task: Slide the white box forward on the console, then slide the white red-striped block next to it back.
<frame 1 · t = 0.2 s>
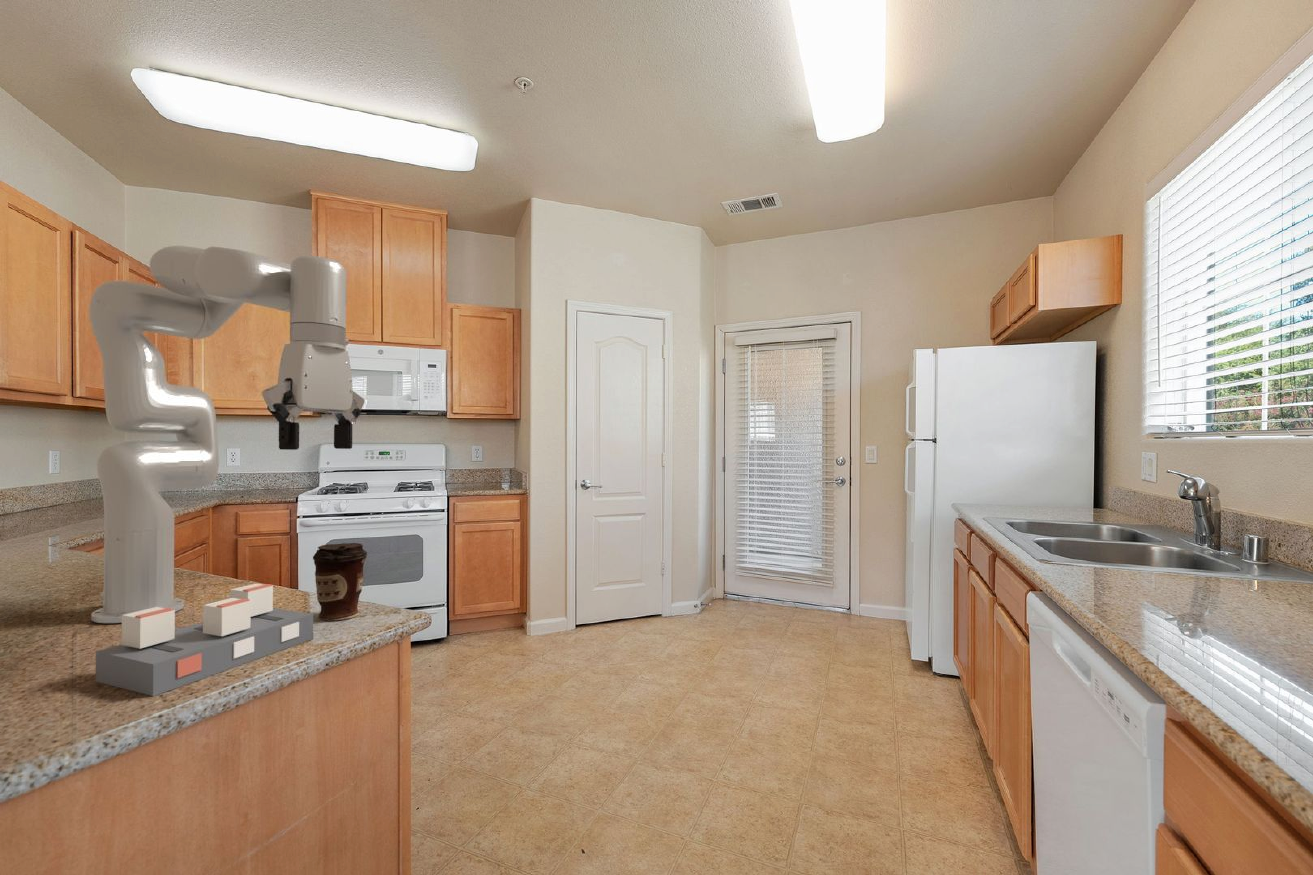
hand: (317, 449, 88), 31 cm above the worktop, tool pointing down, fingers open, 9 cm apart
coffee cup: (338, 617, 103), on the worktop
white red-striped block 2: (227, 615, 83), point 7 cm above the worktop, slide at 2.5 cm
white box 1: (148, 626, 78), point 7 cm above the worktop, slide at -2.5 cm
white red-striped block 3: (251, 599, 91), point 7 cm above the worktop, slide at -2.5 cm
console: (215, 657, 84), on the worktop
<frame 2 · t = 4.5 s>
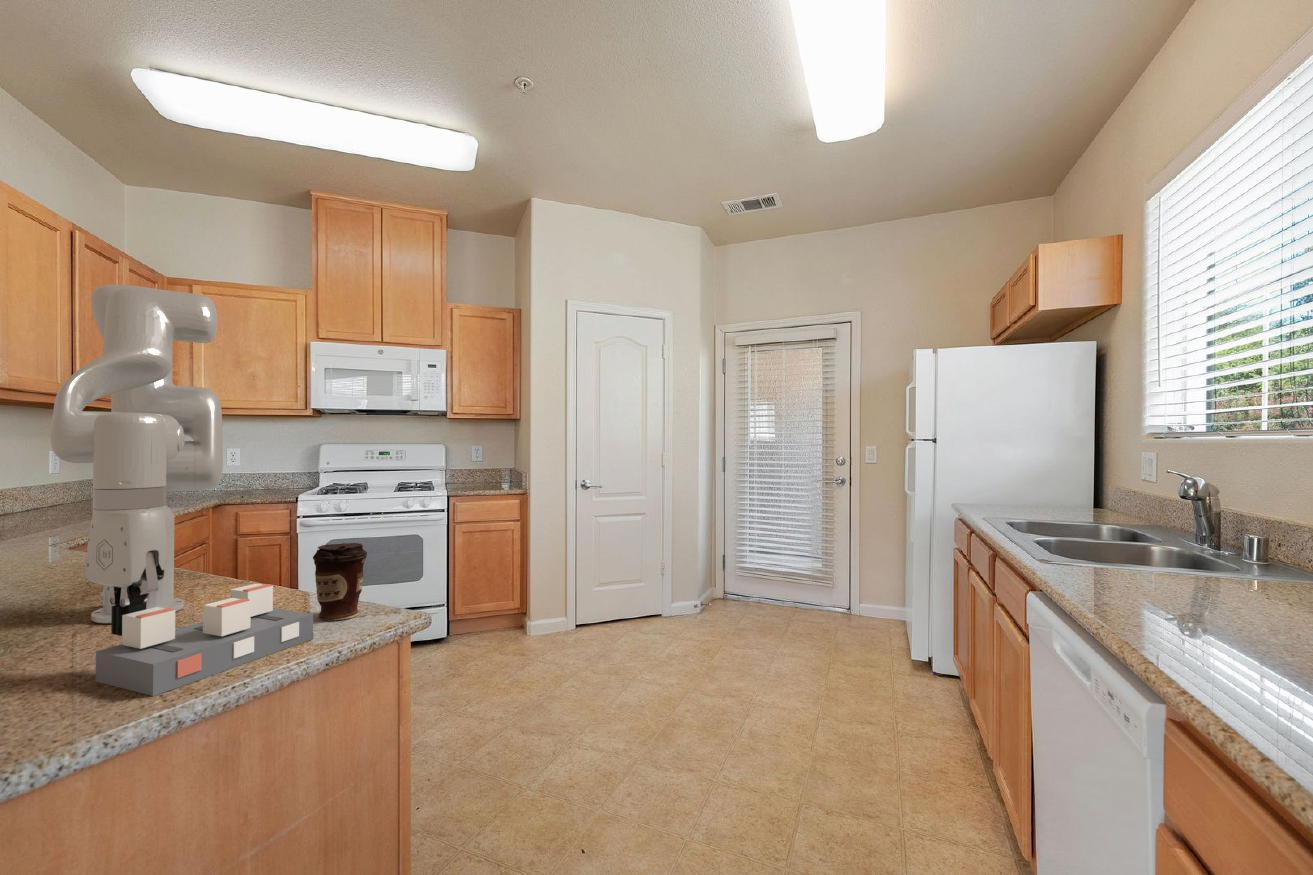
hand: (128, 631, 79), 5 cm above the worktop, tool pointing down, fingers closed
white box 1: (149, 626, 78), point 7 cm above the worktop, slide at -2.4 cm, touching gripper
everything else where it was.
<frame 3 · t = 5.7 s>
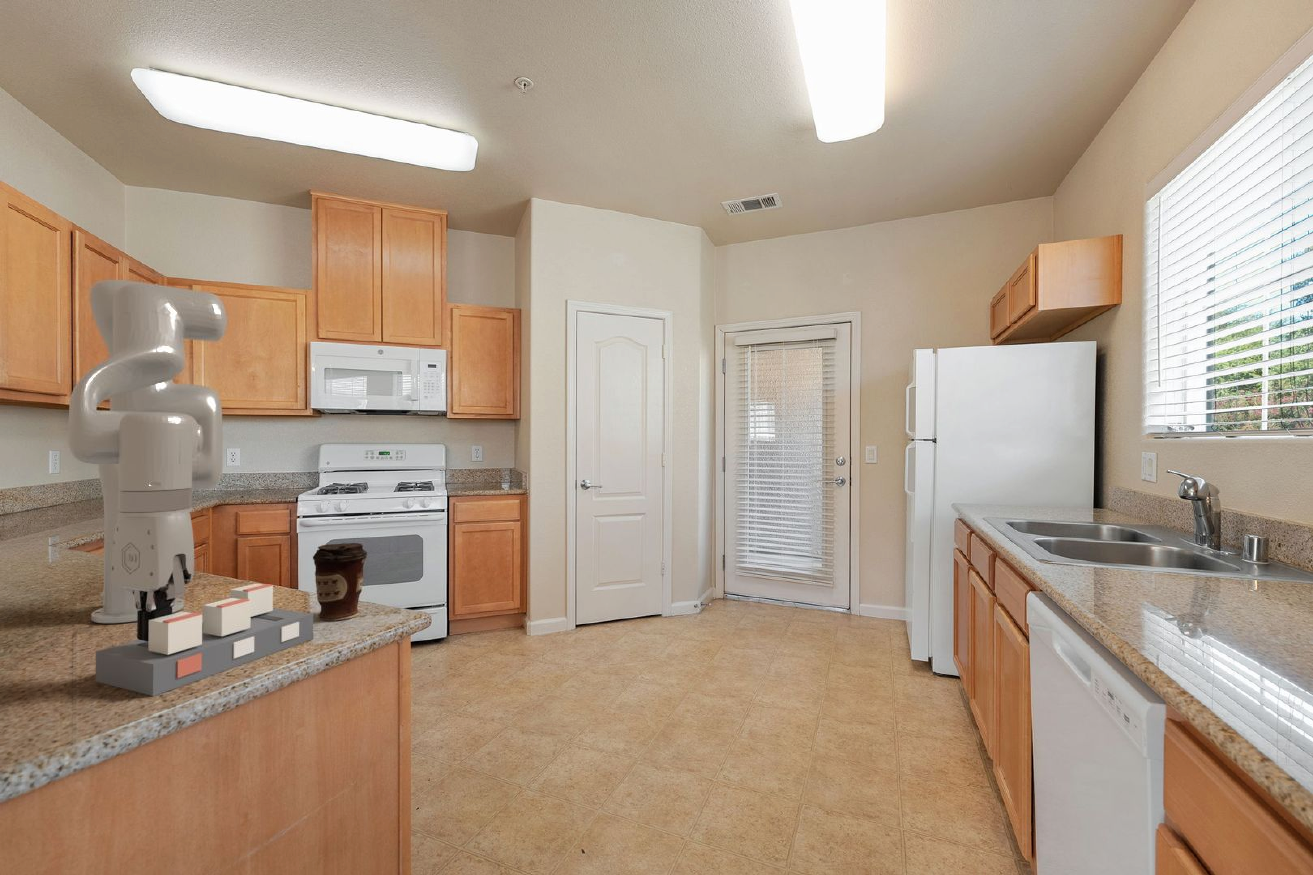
hand: (154, 637, 77), 5 cm above the worktop, tool pointing down, fingers closed
white box 1: (175, 631, 76), point 7 cm above the worktop, slide at 3.2 cm, touching gripper
everything else where it was.
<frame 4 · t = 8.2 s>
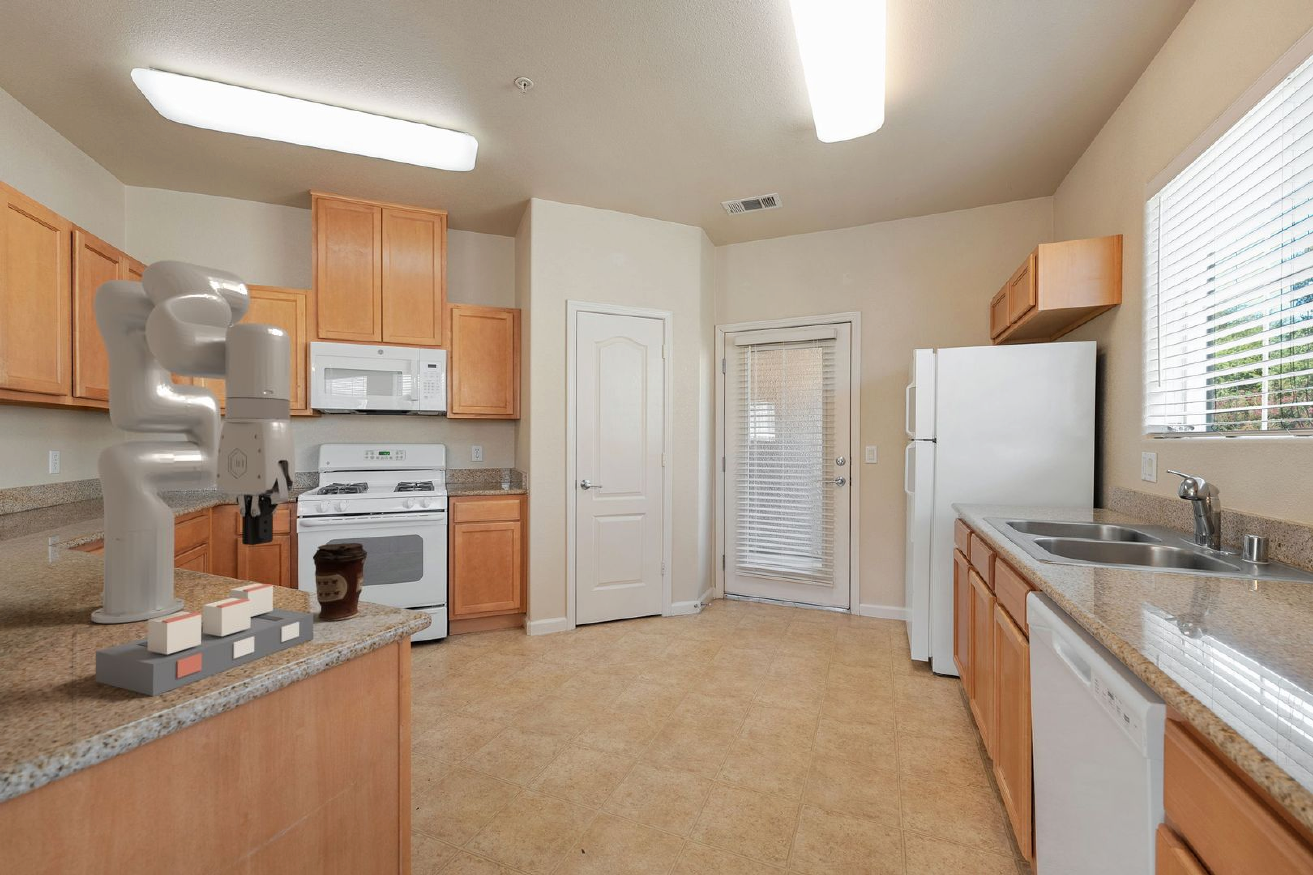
hand: (257, 542, 80), 18 cm above the worktop, tool pointing down, fingers closed
white box 1: (174, 631, 76), point 7 cm above the worktop, slide at 3.1 cm
everything else where it was.
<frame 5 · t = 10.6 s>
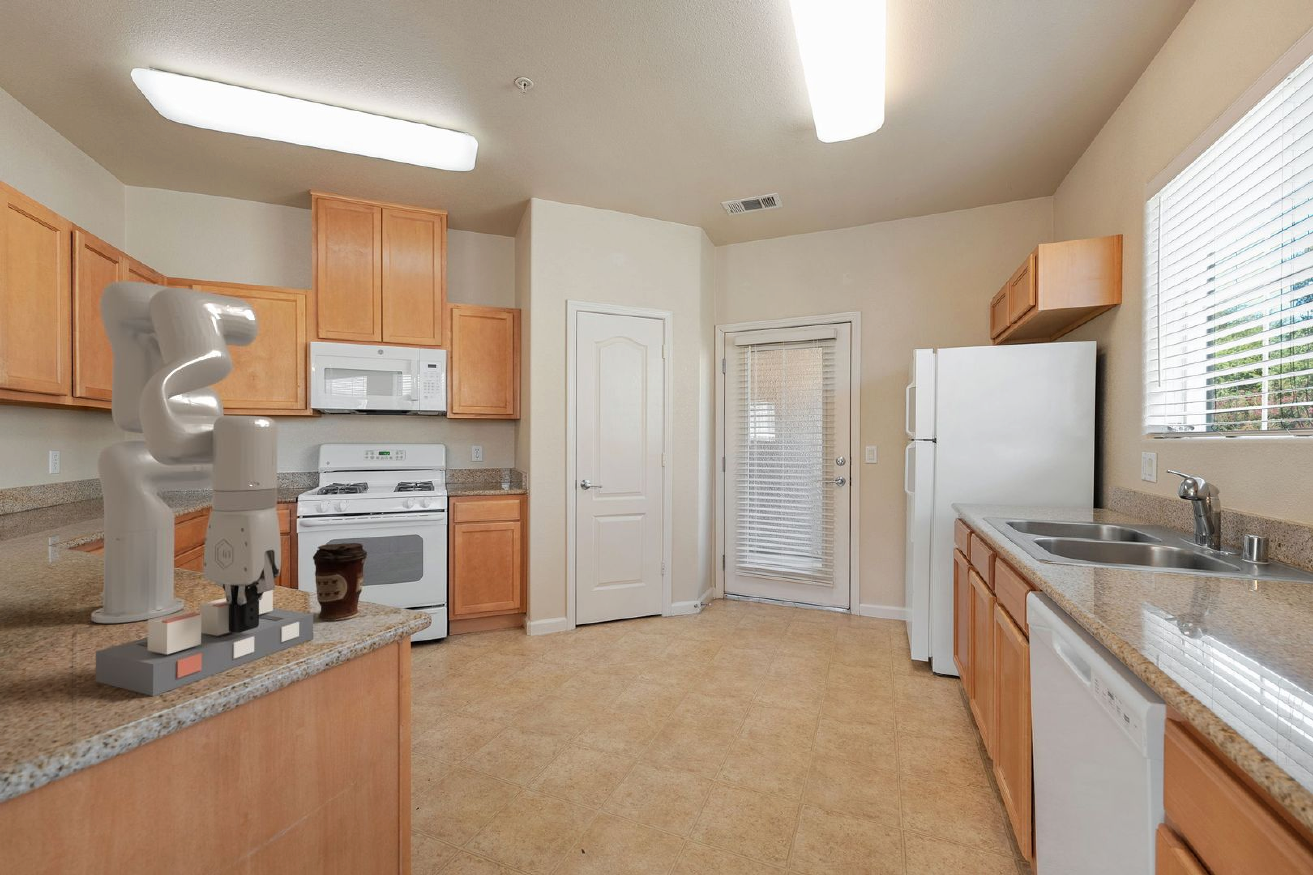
hand: (243, 629, 81), 5 cm above the worktop, tool pointing down, fingers closed
white red-striped block 2: (223, 615, 83), point 7 cm above the worktop, slide at 1.6 cm, touching gripper
everything else where it was.
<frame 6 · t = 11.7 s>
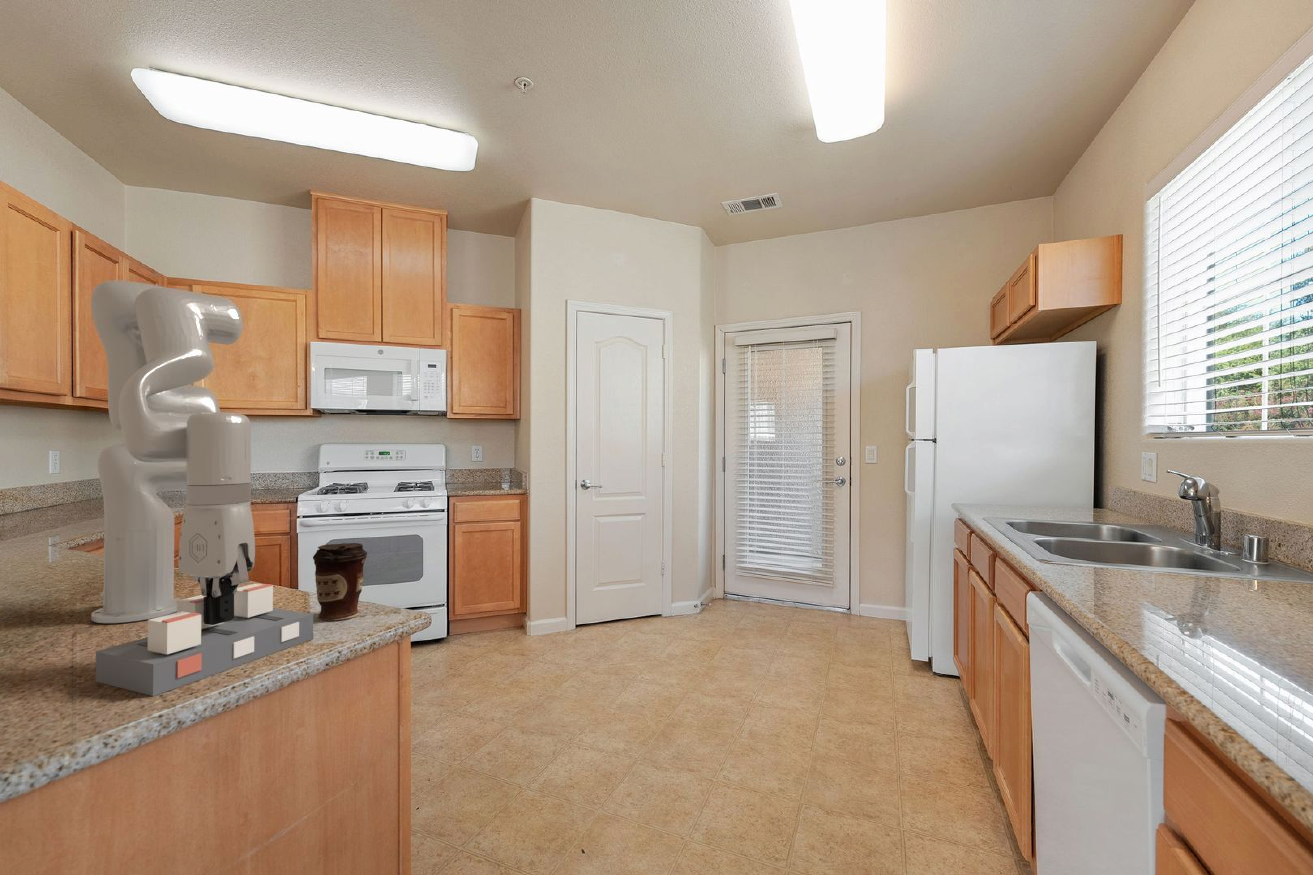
hand: (219, 621, 83), 5 cm above the worktop, tool pointing down, fingers closed
white red-striped block 2: (200, 611, 85), point 7 cm above the worktop, slide at -3.4 cm, touching gripper
everything else where it was.
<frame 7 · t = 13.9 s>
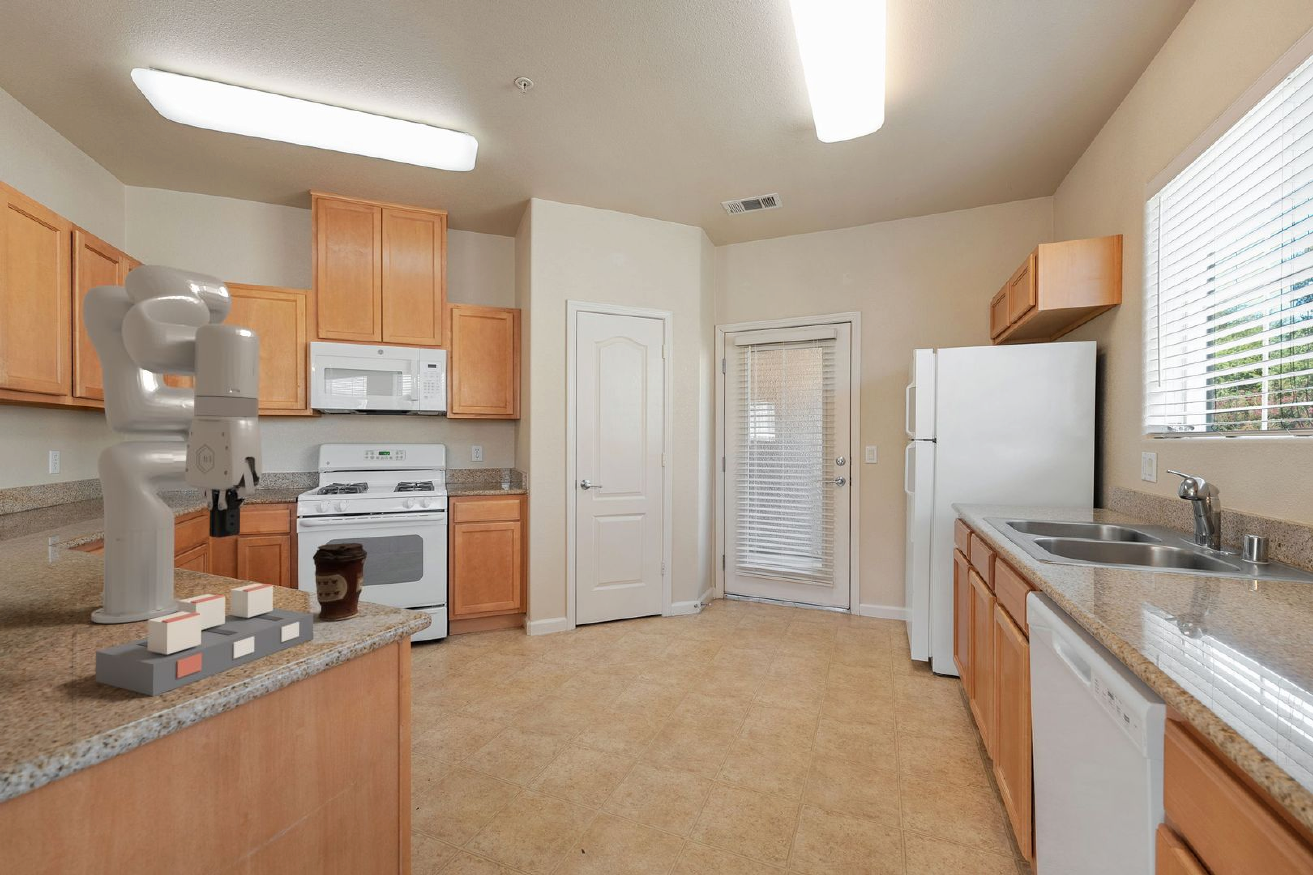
hand: (224, 535, 83), 18 cm above the worktop, tool pointing down, fingers closed
white red-striped block 2: (201, 611, 85), point 7 cm above the worktop, slide at -3.1 cm
everything else where it was.
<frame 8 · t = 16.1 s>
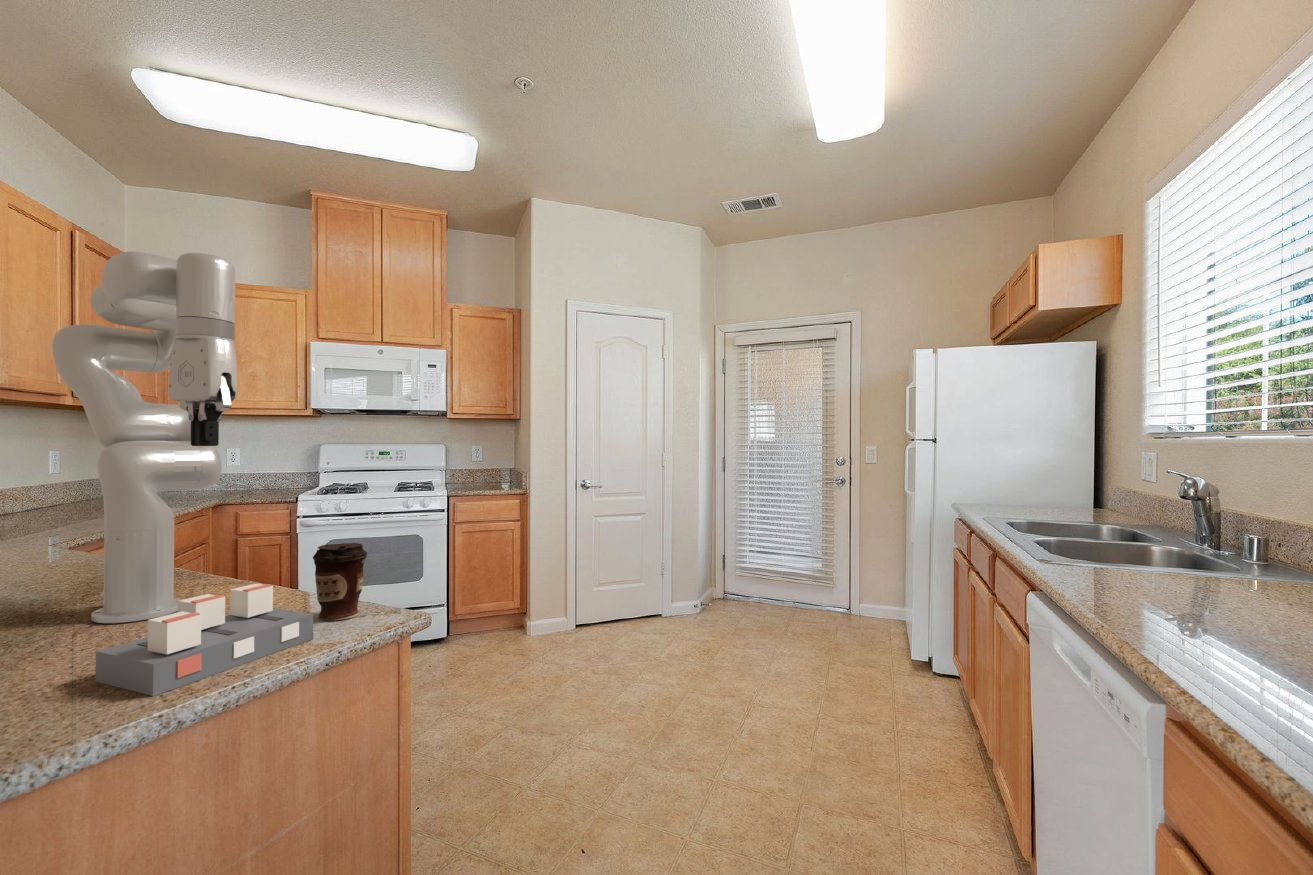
hand: (204, 445, 92), 31 cm above the worktop, tool pointing down, fingers closed
nothing on the worktop moved.
at the end: white box 1 slide at 3.1 cm; white red-striped block 2 slide at -3.1 cm; white red-striped block 3 slide at -2.5 cm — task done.
